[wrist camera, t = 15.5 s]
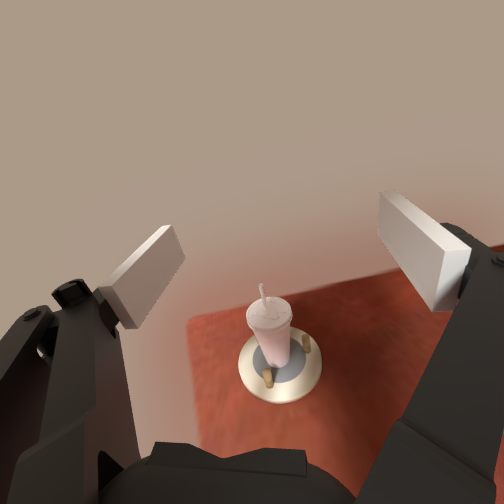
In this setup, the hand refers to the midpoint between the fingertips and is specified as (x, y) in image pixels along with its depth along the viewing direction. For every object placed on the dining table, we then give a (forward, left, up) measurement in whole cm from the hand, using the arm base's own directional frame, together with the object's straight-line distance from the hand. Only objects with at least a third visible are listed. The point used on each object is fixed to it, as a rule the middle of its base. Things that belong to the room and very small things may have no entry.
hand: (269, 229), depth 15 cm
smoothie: (+6, -9, -27) cm, 29 cm away
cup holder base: (+6, -9, -28) cm, 30 cm away
